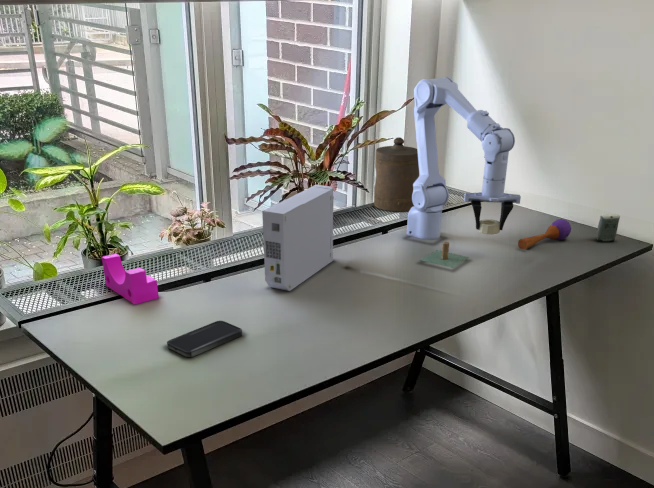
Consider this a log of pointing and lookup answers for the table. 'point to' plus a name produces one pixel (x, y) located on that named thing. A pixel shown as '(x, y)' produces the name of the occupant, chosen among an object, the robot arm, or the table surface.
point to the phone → (204, 338)
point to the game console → (298, 237)
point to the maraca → (548, 234)
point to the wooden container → (395, 176)
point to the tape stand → (444, 257)
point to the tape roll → (489, 226)
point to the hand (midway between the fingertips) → (488, 228)
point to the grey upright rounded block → (607, 228)
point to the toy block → (129, 281)
